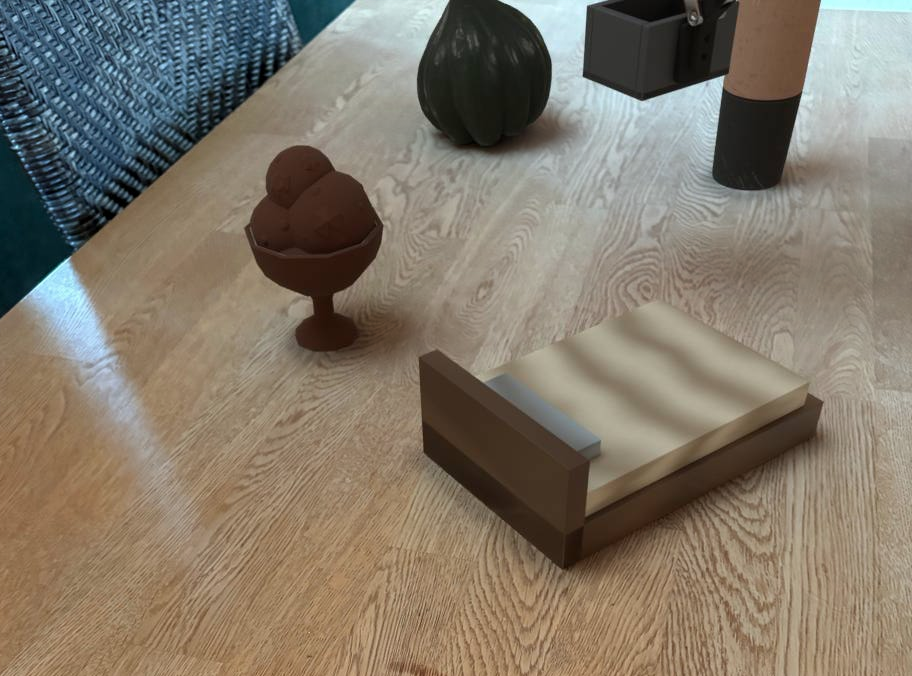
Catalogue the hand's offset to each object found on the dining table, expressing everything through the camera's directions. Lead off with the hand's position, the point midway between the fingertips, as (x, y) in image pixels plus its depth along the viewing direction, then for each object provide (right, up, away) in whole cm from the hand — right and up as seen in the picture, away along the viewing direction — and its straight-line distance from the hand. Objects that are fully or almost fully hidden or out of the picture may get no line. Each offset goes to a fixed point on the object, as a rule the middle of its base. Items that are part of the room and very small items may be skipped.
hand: (656, 64), depth 80 cm
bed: (-4, -31, -4) cm, 31 cm away
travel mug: (+15, +3, +27) cm, 31 cm away
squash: (-12, +13, +37) cm, 41 cm away
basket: (0, -1, +1) cm, 1 cm away
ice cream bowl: (-27, -19, +8) cm, 34 cm away
